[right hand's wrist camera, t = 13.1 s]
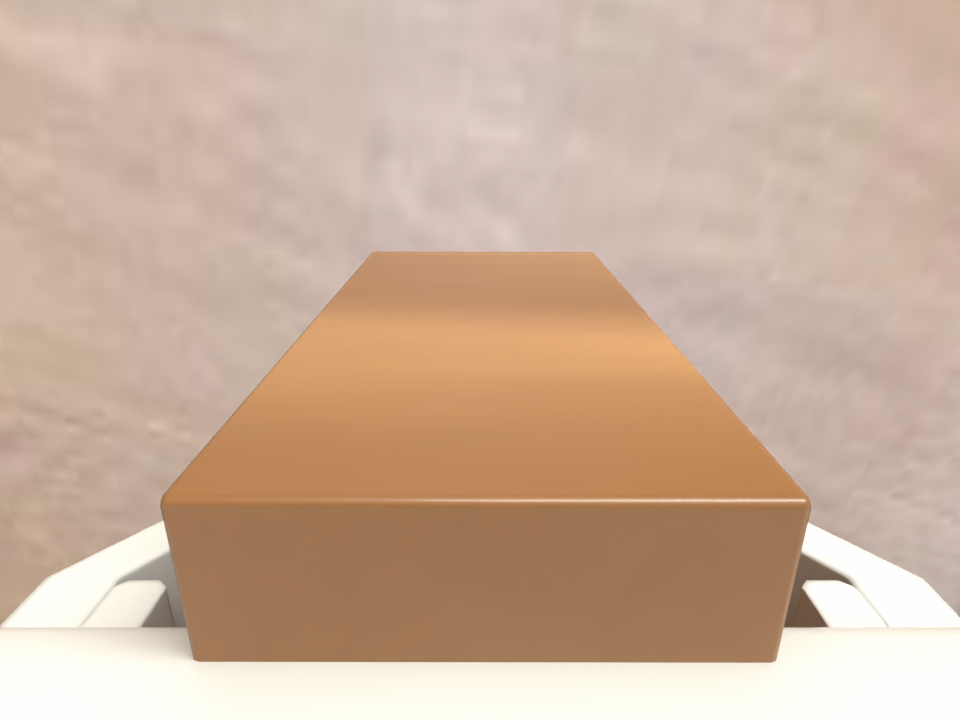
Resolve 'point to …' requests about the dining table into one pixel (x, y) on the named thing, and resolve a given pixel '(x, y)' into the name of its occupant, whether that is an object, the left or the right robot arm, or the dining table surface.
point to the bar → (484, 484)
